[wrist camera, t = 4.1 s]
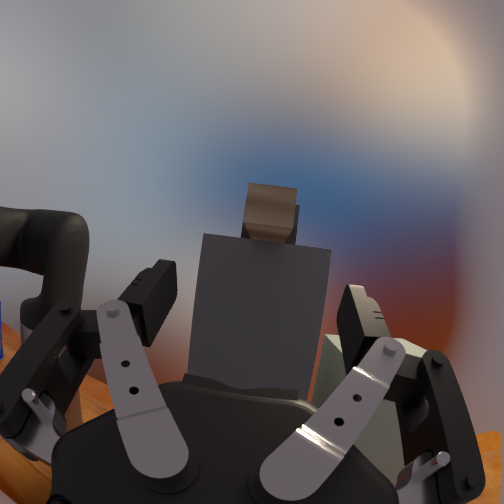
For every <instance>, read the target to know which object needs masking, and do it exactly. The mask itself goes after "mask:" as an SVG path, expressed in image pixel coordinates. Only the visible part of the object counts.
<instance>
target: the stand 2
mask: <svg viewBox="0 0 504 504" xmlns="http://www.w3.org/2000/svg"><path fill="white" fill-rule="evenodd" d="M394 339H396V338H394ZM396 340H397V341H399V342H400V343H401V344H402V345H403V346H404V348H405V351H406V353H407V354H410V355H413V356H417V357H421V358H422V356H423V354H424V353H425V352H426V351H427V350H425V349H423V348H421V347H419V346H417V345H414V344H412V343H410V342H408V341H406V340H404V339H396ZM345 377H346V372H345V366H344V360H343V354H342V349H341V343H340V338H339V335H328V334H325V335H324V340H323V346H322V351H321V356H320V361H319V366H318V372H317V376H316V381H315V386H314V390H313V395H312V399H311V404H313V405H315V406H316V407H318V408H320V407H321V406H322V404H323V403H324V402H325V401H326V400H327V399H328V398H329V396H330V395H331V394H332V393H333V392H334V391H335V389H336V388H337V387H338V386H339V385H340V384H341V382H342V381H343V380H344V379H345ZM426 401H427V400H426ZM427 405H428V403H427ZM428 409H429V407H428ZM353 444H354V445H355V446H356V447H357V448H358V449H359V450H360V451H361V452H362V453H363V454H364V455H365V457H366V458H367V459H368V460H369V461H370V462H371V463H372V464H373V465H374V466H375V467H376V468H377V469H378V470H379V471H380V472H381V473H382V474H383V475H385V476H386V477H387V478H388V479H389V480H390V481H391V483H392V484H393V485H394V487H395V486H396V483H397V476H398V474H399V472H400V471H401V469H403V468H404V467H405V466H404V458H403V449H402V442H401V435H400V429H399V422H398V416H397V411H396V405H395V402H392V401H388V400H384V399H382V401H381V403H380V404H379V406H378V408H377V409H376V411H375V412H374V414H373V415H372V417H371V419H370V420H369V422H368V423H367V425H366V426H365V428H364V429H363V431H362V432H361V433H360V435H359V436H358V438H357V439H356V441H355V442H354V443H353Z"/></svg>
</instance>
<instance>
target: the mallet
mask: <svg viewBox="0 0 504 504" xmlns="http://www.w3.org/2000/svg"><path fill="white" fill-rule="evenodd" d="M296 195H297V189H296V188H288V187H281V186H272V185H264V184H256V183H249V186H248V193H247V199H246V204H245V212H244V218H243V226H242V233H241V238H246V239H253V240H261V241H269V242H277V243H284V244H292V245H295V242H296V233H297V223H298V215H299V205H296Z"/></svg>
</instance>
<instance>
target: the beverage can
mask: <svg viewBox="0 0 504 504" xmlns="http://www.w3.org/2000/svg"><path fill="white" fill-rule="evenodd" d="M2 359H3V347H2V334H1V301H0V361H1V360H2Z"/></svg>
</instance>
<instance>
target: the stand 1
mask: <svg viewBox="0 0 504 504" xmlns="http://www.w3.org/2000/svg"><path fill="white" fill-rule="evenodd" d="M330 257H331V250H329V249H322V248H315V247H307V246H300V245H292V244H284V243H277V242H269V241H261V240H253V239H246V238H237V237H229V236H221V235H213V234H205V233H204V235H203V242H202V249H201V255H200V263H199V270H198V277H197V285H196V293H195V302H194V310H193V319H192V329H191V339H190V349H189V361H188V372H187V374H190V375H195V376H200V377H205V378H210V379H214V380H216V381H219V382H221V383H224V384H226V385H229V386H231V387H234V388H237V389H257V388H269V387H271V388H280V389H291V390H298V398H299V399H302V400H305V401H307V396H308V392H309V387H310V383H311V378H312V373H313V368H314V363H315V358H316V352H317V347H318V340H319V335H320V329H321V323H322V317H323V311H324V304H325V297H326V290H327V282H328V275H329V266H330Z"/></svg>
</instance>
